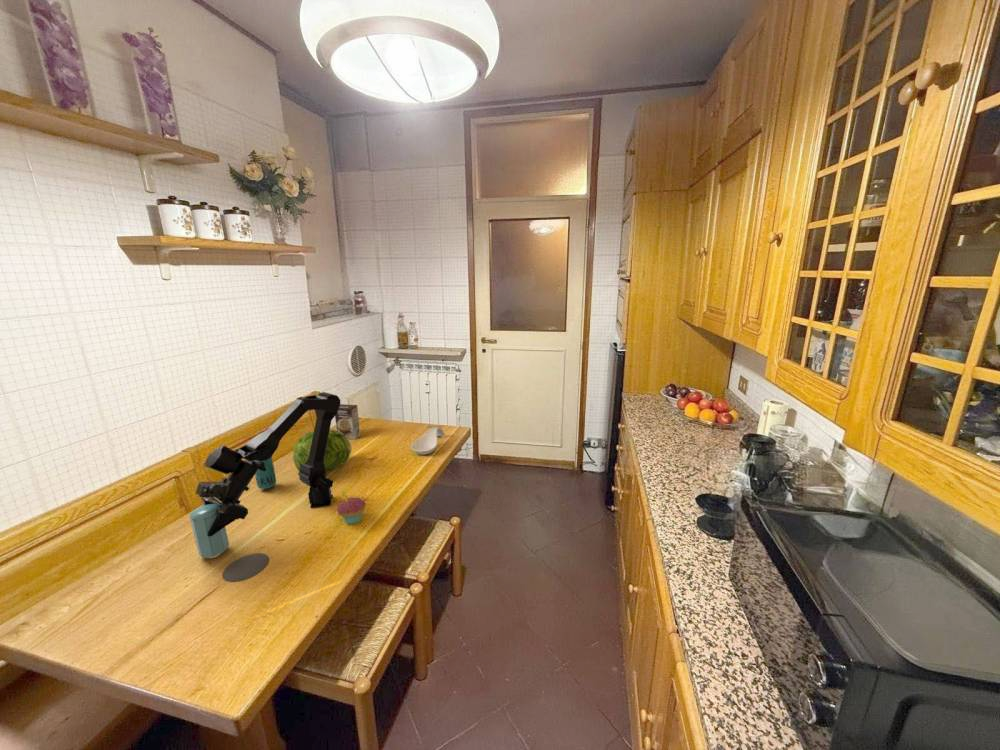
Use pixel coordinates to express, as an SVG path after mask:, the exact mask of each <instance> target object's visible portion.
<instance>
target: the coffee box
mask: <svg viewBox="0 0 1000 750" xmlns="http://www.w3.org/2000/svg"><path fill="white" fill-rule="evenodd" d="M358 409H359V408H358V404H344V403H343V404H342V403H340V406H339V409H338V412H337V414H336V415H335V416H334V418H335V419H334V420H335V425H336V426H335V427H336V431H338V432H339V433H341V434H343V435H344V436H345V437H346V438H347V439H348V440H350V439H355V440H356V439H358V438H359V437H360V436H361V428H360V420H359V419H360V418H359V410H358ZM359 435H360V436H359ZM358 436H359V437H358Z"/></svg>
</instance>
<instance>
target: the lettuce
mask: <svg viewBox="0 0 1000 750" xmlns="http://www.w3.org/2000/svg"><path fill="white" fill-rule="evenodd" d="M313 434H314V430H313V431H309V432H307V433H305V434H304V435H302V436H301V437H300V438H299V439H298V440H297V442H296V443H295V444H294V446H293V449H292V458H293V462H294V466H295V467H296V469H297V471H298V472H299V471H300V464H301V463H303V464H305V463H306V461H307V460H308V458H309V453H310V449H311V444H312V439H313ZM351 453H352V444H351V442H350V440H349V439H347V438H346V437H345V436H344V435H343V434H341V433H339V432H338V431H337V430H334V429H330V431H329V436H328V441H327V446H326V451H325V456H324V465H325V469H326V473H329V472H332V471H334V470H336V469H337V468H339V467H341V466H342V465H343V464H344V463H346V462H347V461H348V459H349V457H350V455H351Z"/></svg>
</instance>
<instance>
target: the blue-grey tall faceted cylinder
mask: <svg viewBox="0 0 1000 750" xmlns="http://www.w3.org/2000/svg"><path fill="white" fill-rule="evenodd" d="M216 509H217V510H220V506H219V505H218V504H208V505H202V506H199V507H197V508H195V509H193V510H192V511H191V512H190V513H189V521H190V524H191V528H192V532H193V537H194V540H195V544H196V545H195V546H196V549H197V551H198V555H199V556H200V557H201V558H202V559H204V558H205V559H206V558H208V557H213V556H216V555H218V554H220V553H221V554H222V553H224V552H225V551H226V550H227V548H228V547H229V546H230V543H229V542H230V541H229V537H228V533H227V529H226V526H225V527H224V528H222V529H221V530H220V531H218V532H217V533H215V534H214V535H212V536H207V534H208V532H209V530H210V528H211V526H212V524H213V522H214V521H215V519H216V517H217V514H216ZM221 554H220V555H221Z"/></svg>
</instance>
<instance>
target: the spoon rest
mask: <svg viewBox="0 0 1000 750" xmlns="http://www.w3.org/2000/svg"><path fill="white" fill-rule="evenodd" d="M437 436H441V437H440V438H444V437H443V436H446V435H445V431H444V430H443V428H441V427H436V426H433V427H431V428H429V429H428V430H427V431H426V432H425V433H423V434H422V435H421V436H420V437H418V438H417V439H416V440H414V441H413V442H412V443H411V445H410V449H411V450H412V451H413V452H414V453H415V454H417V455H422V456H423V455H424V456H426V455H430V454H431V453H433V452H434V451H435V450H436V449H437V447H438V443H439V440H438V439H439V437H437Z"/></svg>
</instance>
